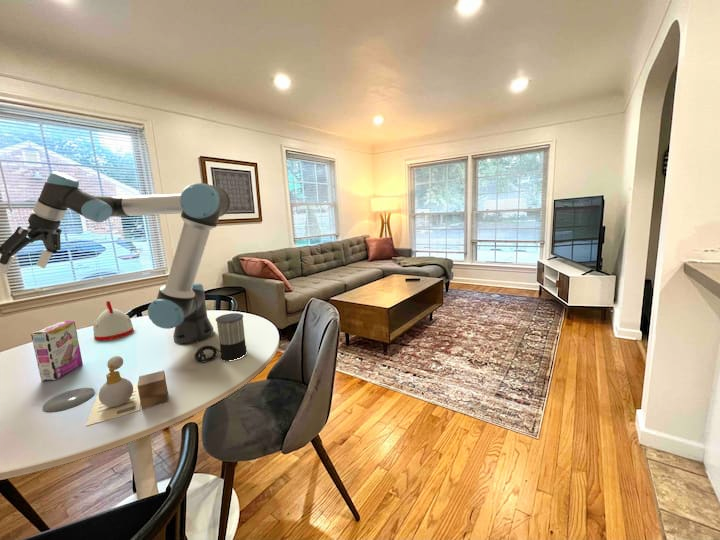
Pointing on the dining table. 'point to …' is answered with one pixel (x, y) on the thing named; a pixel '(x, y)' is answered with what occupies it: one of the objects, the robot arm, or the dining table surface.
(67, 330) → the candy bar box
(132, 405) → the letter
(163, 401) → the walnut block
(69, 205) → the robot arm
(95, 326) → the white and red dome
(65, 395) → the grey smooth round part
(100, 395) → the perfume bottle
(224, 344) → the milk frother
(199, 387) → the dining table surface
